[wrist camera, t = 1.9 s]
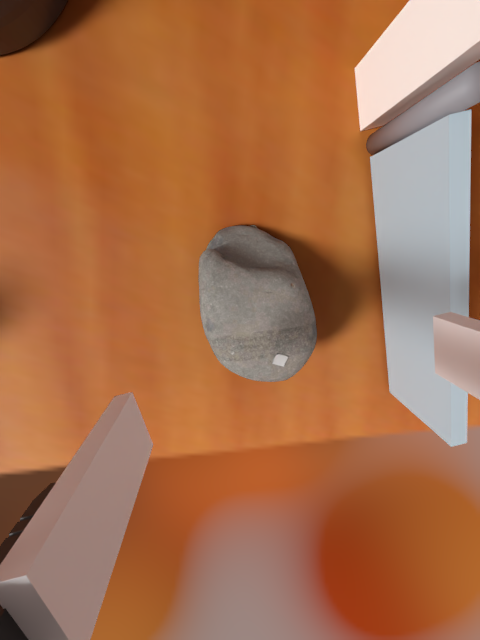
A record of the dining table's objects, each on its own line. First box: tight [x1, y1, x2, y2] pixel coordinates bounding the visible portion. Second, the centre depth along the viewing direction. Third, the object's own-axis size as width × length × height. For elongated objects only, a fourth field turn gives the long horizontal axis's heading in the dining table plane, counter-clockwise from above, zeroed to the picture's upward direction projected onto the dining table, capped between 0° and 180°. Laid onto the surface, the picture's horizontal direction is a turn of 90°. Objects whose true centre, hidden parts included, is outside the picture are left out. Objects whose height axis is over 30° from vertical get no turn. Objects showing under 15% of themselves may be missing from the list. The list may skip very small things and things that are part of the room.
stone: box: [199, 225, 317, 382], centre depth 22 cm, size 9×9×10 cm
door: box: [366, 62, 480, 447], centre depth 20 cm, size 23×3×8 cm, turn 13°
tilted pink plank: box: [355, 0, 480, 131], centre depth 16 cm, size 4×2×10 cm, turn 13°
